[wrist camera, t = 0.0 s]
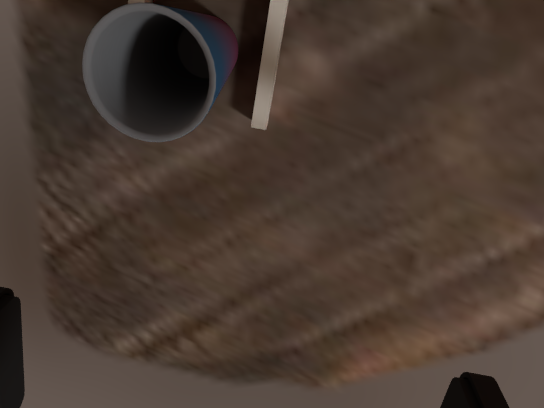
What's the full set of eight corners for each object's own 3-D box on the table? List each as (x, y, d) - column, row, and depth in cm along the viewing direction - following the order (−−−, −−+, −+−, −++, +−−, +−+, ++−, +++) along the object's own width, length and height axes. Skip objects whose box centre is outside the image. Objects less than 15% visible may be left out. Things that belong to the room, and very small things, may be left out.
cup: (237, -9, 36) (193, -14, 22) (259, 82, 39) (231, 127, 25) (152, 14, 37) (60, 22, 23) (179, 101, 40) (110, 154, 26)
